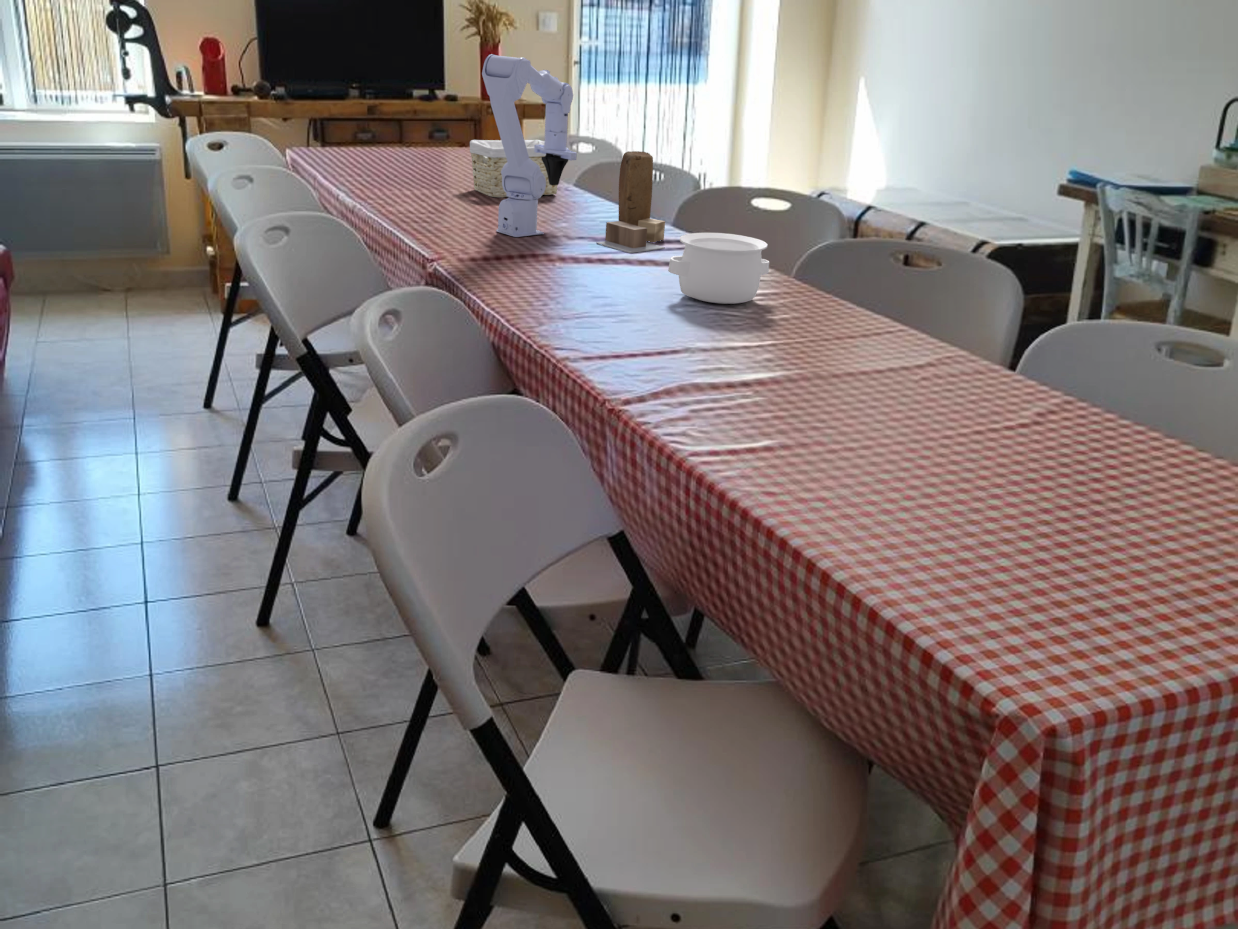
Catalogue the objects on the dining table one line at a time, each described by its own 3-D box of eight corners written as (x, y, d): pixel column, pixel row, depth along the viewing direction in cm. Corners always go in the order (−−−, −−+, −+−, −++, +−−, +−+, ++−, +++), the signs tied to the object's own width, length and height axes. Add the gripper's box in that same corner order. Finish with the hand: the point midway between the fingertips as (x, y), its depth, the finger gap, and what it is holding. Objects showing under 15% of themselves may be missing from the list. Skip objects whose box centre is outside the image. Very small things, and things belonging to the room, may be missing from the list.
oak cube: (653, 243, 290) (655, 223, 288) (636, 240, 292) (638, 220, 290) (663, 240, 294) (665, 221, 292) (646, 237, 296) (648, 218, 294)
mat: (629, 253, 276) (629, 251, 276) (596, 243, 284) (596, 242, 284) (664, 248, 284) (664, 247, 284) (631, 239, 292) (631, 238, 292)
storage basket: (489, 199, 333) (490, 146, 327) (466, 189, 345) (467, 138, 340) (562, 196, 345) (564, 146, 339) (537, 187, 357) (539, 138, 352)
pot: (682, 310, 230) (687, 250, 225) (654, 289, 245) (658, 232, 240) (782, 309, 236) (789, 250, 232) (748, 288, 251) (755, 232, 247)
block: (650, 234, 300) (656, 155, 292) (622, 233, 298) (628, 154, 291) (640, 225, 310) (646, 149, 302) (613, 225, 308) (618, 148, 300)
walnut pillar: (605, 240, 287) (632, 248, 281) (606, 222, 285) (634, 229, 279) (618, 238, 290) (645, 246, 284) (619, 220, 288) (647, 228, 282)
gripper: (586, 133, 291) (583, 188, 297) (549, 126, 301) (547, 179, 306) (565, 135, 287) (563, 190, 292) (528, 127, 296) (527, 180, 302)
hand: (553, 184), depth 299 cm, fingers closed
